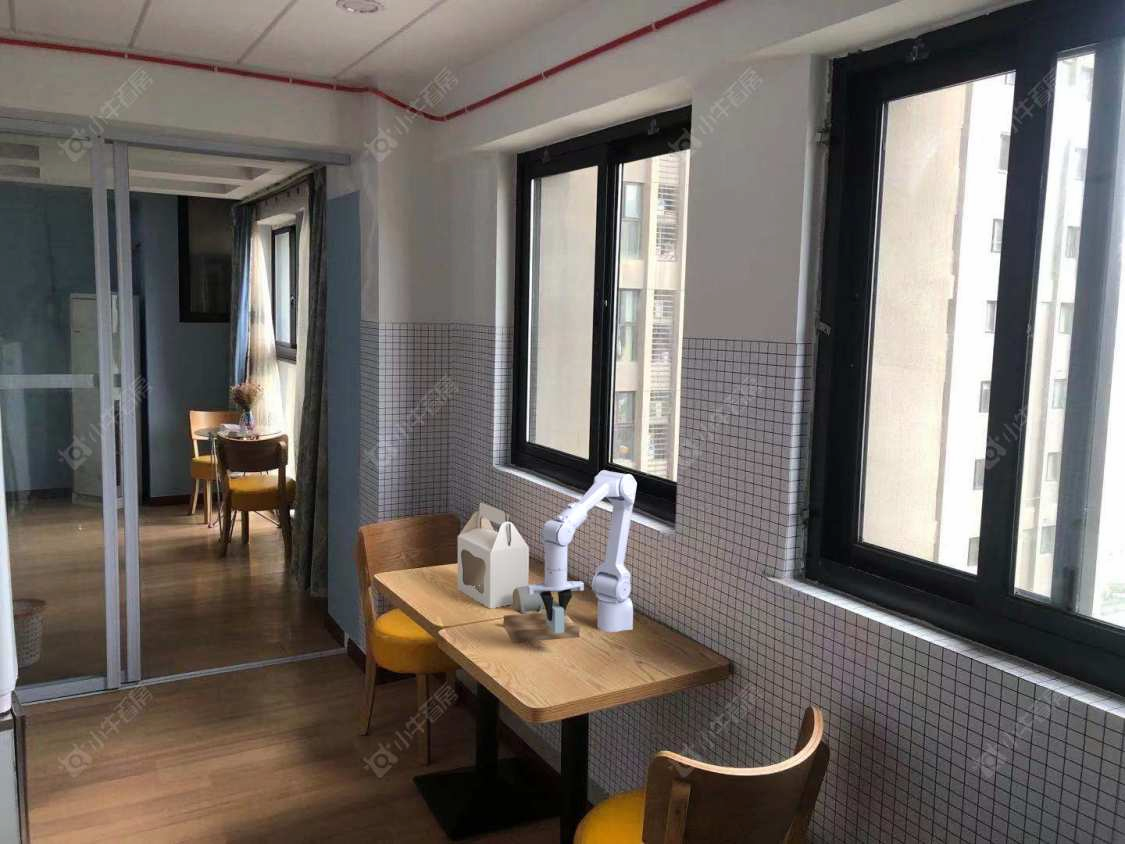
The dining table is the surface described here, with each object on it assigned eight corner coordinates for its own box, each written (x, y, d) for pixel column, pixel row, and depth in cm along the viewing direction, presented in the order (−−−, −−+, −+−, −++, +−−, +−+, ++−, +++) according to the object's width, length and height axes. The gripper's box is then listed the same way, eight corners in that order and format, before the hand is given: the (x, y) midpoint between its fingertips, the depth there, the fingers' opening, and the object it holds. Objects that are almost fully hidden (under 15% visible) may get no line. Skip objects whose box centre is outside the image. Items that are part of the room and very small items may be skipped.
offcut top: (567, 620, 252) (567, 615, 252) (573, 628, 246) (573, 622, 246) (552, 621, 251) (552, 616, 251) (557, 629, 245) (557, 623, 245)
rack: (566, 623, 256) (566, 610, 256) (579, 640, 244) (579, 626, 244) (503, 628, 252) (503, 615, 251) (513, 645, 239) (513, 631, 239)
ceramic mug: (511, 608, 269) (511, 582, 268) (537, 605, 272) (538, 580, 271) (521, 620, 260) (521, 594, 258) (548, 617, 262) (549, 591, 261)
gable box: (529, 602, 275) (530, 511, 271) (490, 609, 268) (490, 516, 264) (494, 583, 293) (494, 498, 290) (456, 589, 286) (457, 502, 283)
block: (554, 623, 239) (555, 600, 239) (564, 632, 232) (564, 609, 231) (546, 623, 238) (546, 601, 238) (555, 633, 231) (555, 610, 230)
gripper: (578, 561, 239) (577, 611, 240) (524, 565, 234) (523, 616, 236) (586, 568, 232) (585, 620, 234) (531, 572, 228) (531, 625, 229)
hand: (555, 619), depth 235 cm, fingers closed on block, 2 cm apart
